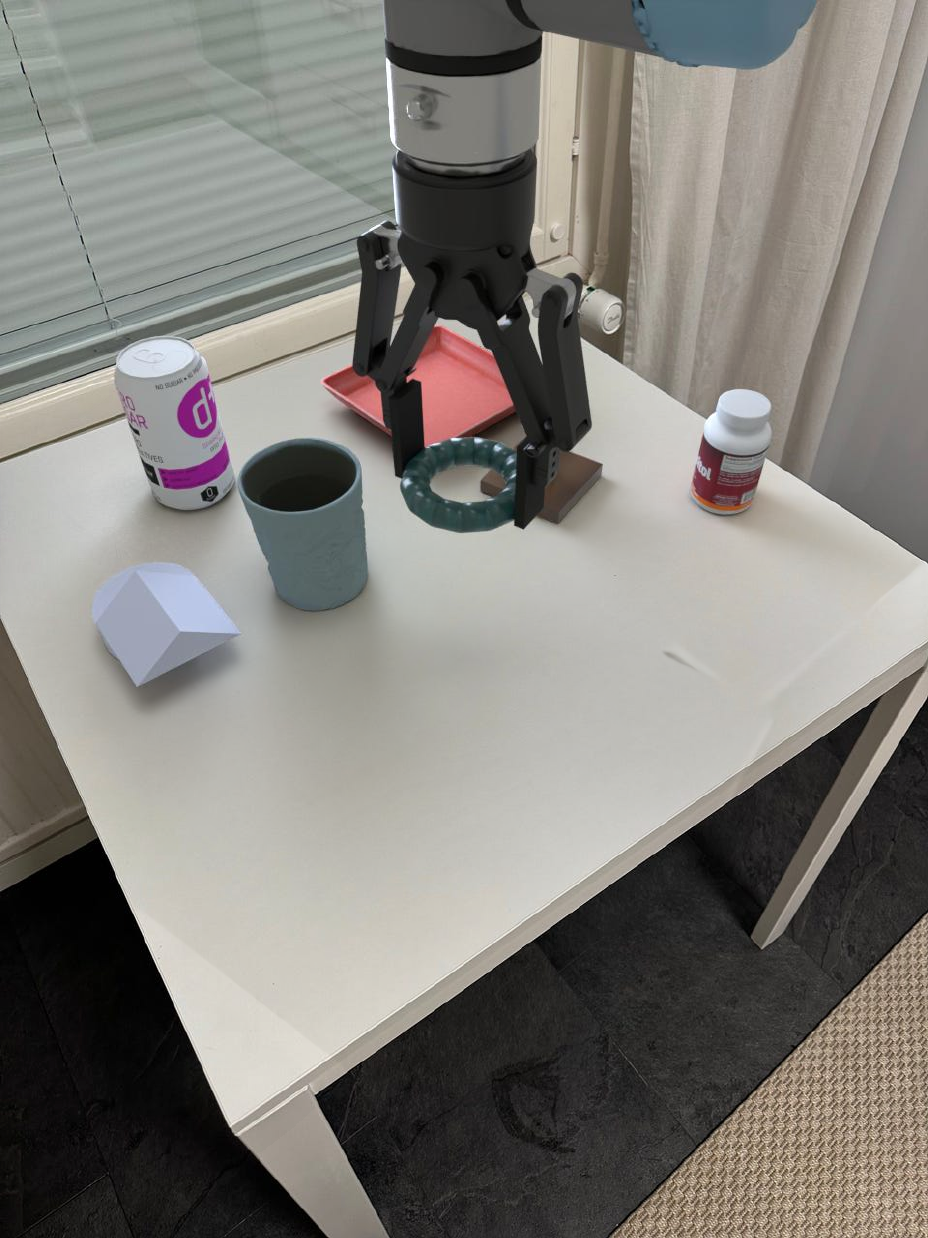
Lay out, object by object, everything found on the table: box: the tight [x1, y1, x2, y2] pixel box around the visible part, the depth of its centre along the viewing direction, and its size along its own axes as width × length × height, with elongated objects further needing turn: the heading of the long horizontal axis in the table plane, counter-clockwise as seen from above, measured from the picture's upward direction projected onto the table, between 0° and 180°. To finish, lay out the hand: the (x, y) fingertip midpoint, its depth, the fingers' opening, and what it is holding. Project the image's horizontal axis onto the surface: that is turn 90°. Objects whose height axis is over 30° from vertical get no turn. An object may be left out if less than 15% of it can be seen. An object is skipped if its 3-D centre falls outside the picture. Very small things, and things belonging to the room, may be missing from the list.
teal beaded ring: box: [399, 436, 517, 534], centre depth 62 cm, size 9×9×2 cm
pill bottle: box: [690, 388, 773, 515], centre depth 85 cm, size 6×6×11 cm
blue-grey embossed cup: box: [237, 437, 368, 612], centre depth 77 cm, size 10×10×12 cm
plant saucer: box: [320, 324, 517, 447], centre depth 99 cm, size 18×18×3 cm
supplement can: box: [113, 335, 236, 511], centre depth 85 cm, size 8×8×15 cm
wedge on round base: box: [90, 561, 242, 688], centre depth 74 cm, size 9×7×13 cm
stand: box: [479, 436, 604, 524], centre depth 87 cm, size 9×9×10 cm
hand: (467, 491), depth 62 cm, fingers closed on teal beaded ring, 9 cm apart
